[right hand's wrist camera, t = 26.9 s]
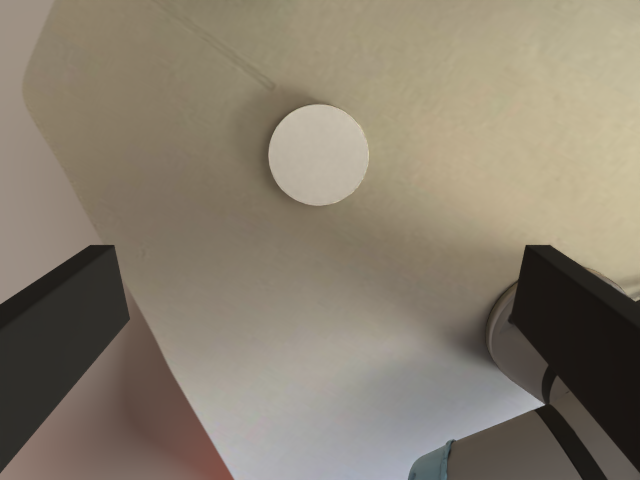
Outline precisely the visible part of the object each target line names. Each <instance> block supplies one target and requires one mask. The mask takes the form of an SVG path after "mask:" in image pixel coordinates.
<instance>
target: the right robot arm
mask: <svg viewBox="0 0 640 480" xmlns="http://www.w3.org/2000/svg"><path fill="white" fill-rule="evenodd" d="M129 320H130V317H129V313H128V308H127V303H126V298H125V294H124V289H123V284H122V279H121V275H120V270H119V265H118V261H117V256H116V251H115V246H114V245H90V246H88V247H87V248H85V249H84V250H82V251H81V252H79V253H78V254H76V255H74V256H73V257H71V258H70V259H68V260H67V261H65V262H64V263H62V264H61V265H59V266H58V267H56V268H55V269H53V270H52V271H50V272H49V273H47V274H46V275H44V276H43V277H41V278H40V279H38V280H37V281H35V282H34V283H32V284H31V285H29V286H28V287H26V288H25V289H23V290H21V291H20V292H18V293H17V294H15V295H14V296H12V297H11V298H9V299H8V300H6V301H5V302H3V303H2V304H0V473H1V472H2V471H3V469H4V468H5V467H6V466H7V465H8V463H9V462H10V461H11V460H12V459H13V457H14V456H15V455H16V454H17V453H18V451H19V450H20V449H21V448H22V447H23V445H24V444H25V443H26V442H27V441H28V440H29V438H30V437H31V436H32V435H33V434H34V433H35V431H36V430H37V429H38V428H39V427H40V425H41V424H42V423H43V422H44V421H45V419H46V418H47V417H48V416H49V415H50V414H51V412H52V411H53V410H54V409H55V408H56V406H57V405H58V404H59V403H60V402H61V400H62V399H63V398H64V397H65V396H66V395H67V393H68V392H69V391H70V390H71V389H72V387H73V386H74V385H75V384H76V383H77V381H78V380H79V379H80V378H81V377H82V375H83V374H84V373H85V372H86V371H87V369H88V368H89V367H90V366H91V365H92V363H93V362H94V361H95V360H96V359H97V358H98V356H99V355H100V354H101V353H102V352H103V351H104V349H105V348H106V347H107V346H108V345H109V343H110V342H111V341H112V340H113V339H114V337H115V336H116V335H117V334H118V333H119V332H120V330H121V329H122V328H123V327H124V326H125V324H126V323H127V322H128V321H129ZM485 337H486V344H487V348H488V351H489V353H490V355H491V357H492V358H493V360H494V361H495V363H496V365H497V366H498V367H499V369H500V370H501V371H502V372H503V373H504V374H505V375H506V376H507V377H508V378H509V379H510V380H512V381H513V382H515V383H516V384H517V385H519V386H520V387H521V388H523V389H524V390H526V391H527V392H528V393H530V394H531V395H533V396H534V397H535V398H537V399H538V400H540V401H541V402H543V403H544V404H545V405H544V406H542V407H540V408H537V409H535V410H531V411H529V412H527V413H524V414H522V415H519V416H517V417H515V418H512V419H510V420H508V421H505V422H503V423H500V424H498V425H495V426H493V427H490V428H488V429H485V430H482V431H480V432H477V433H475V434H472V435H470V436H467V437H465V438H462V439H460V440H457V441H456V440H454V439H452V440H450V441H448V442H447V443H446V445H445V446H443V447H441V448H438V449H436V450H434V451H432V452H430V453H428V454H426V455H424V456H422V457H420V458H419V459H417V460H416V461H415V463H414V464H413V466H412V468H411V470H410V473H409V477H408V480H640V300H638V301H636V302H635V301H634V300H632V299H631V298H629V297H628V296H627V294H626V293H625V292H624V291H623V290H622V289H621V288H620V287H619V286H618V285H617V284H616V283H614V282H613V281H611V280H610V279H608V278H607V277H605V276H604V275H602V274H600V273H598V272H596V271H594V270H591V269H588V268H584V267H582V266H581V265H579V264H578V263H576V262H575V261H573V260H572V259H570V258H569V257H567V256H566V255H564V254H563V253H561V252H559V251H558V250H556V249H555V248H553V247H552V246H550V245H526V246H525V251H524V256H523V261H522V265H521V270H520V275H519V279H518V282H517V283H516V284H514V285H513V286H512V287H511V288H509V289H508V290H507V291H506V292H505V293H504V294H503V295H502V296H501V298H500V299H499V300H498V301H497V303H496V304H495V306H494V307H493V309H492V311H491V313H490V315H489V318H488V321H487V325H486V334H485Z"/></svg>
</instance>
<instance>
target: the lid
mask: <svg viewBox="0 0 640 480" xmlns="http://www.w3.org/2000/svg"><path fill="white" fill-rule="evenodd" d="M268 157H269V166H270V169H271V173H272V175H273V177H274V179H275V181H276V183H277V184H278V185H279V187H280V188H281V189H282V190H283V191H284V192H285V193H286V194H287V195H288V196H290V197H291V198H293V199H295V200H296V201H299V202H301V203H304V204H308V205H314V206H323V205H329V204H333V203H336V202H339V201H341V200H343V199H344V198H346V197H347V196H349V195H350V194H351V193H352V192H353V191H354V190H355V189H356V188H357V187H358V186H359V184H360V183H361V181H362V179H363V177H364V175H365V173H366V170H367V165H368V158H369V153H368V145H367V141H366V138H365V135H364V133H363V131H362V129H361V127H360V126H359V124H358V123H357V122H356V121H355V120H354V119H353V118H352V117H351V116H350V115H349V114H347V113H346V112H344V111H343V110H341V109H339V108H337V107H334V106H331V105H326V104H310V105H306V106H303V107H300V108H298V109H296V110H294V111H293V112H291V113H290V114H288V115H287V116H286V117H285V118H284V119H283V120H282V121H281V122H280V123H279V125H278V126H277V127H276V129H275V131H274V133H273V135H272V138H271V140H270V145H269V152H268Z"/></svg>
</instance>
